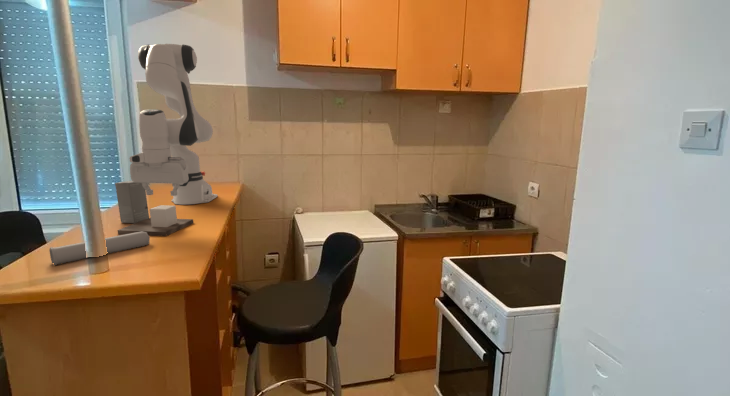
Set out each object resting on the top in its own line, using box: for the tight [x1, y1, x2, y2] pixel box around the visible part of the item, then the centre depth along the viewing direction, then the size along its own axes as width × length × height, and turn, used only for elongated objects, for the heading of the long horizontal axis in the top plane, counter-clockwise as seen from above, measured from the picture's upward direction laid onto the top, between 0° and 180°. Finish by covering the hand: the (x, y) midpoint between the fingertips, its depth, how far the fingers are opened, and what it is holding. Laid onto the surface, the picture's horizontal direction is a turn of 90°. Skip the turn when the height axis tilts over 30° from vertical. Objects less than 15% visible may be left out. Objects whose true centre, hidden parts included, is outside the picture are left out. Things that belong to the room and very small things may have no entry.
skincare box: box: [114, 180, 150, 224], centre depth 153 cm, size 8×7×16 cm
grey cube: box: [149, 204, 178, 227], centre depth 142 cm, size 6×6×6 cm
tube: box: [49, 231, 151, 266], centre depth 117 cm, size 5×5×25 cm
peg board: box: [117, 217, 194, 237], centre depth 143 cm, size 17×18×6 cm
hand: (162, 195), depth 141 cm, fingers open, 8 cm apart
